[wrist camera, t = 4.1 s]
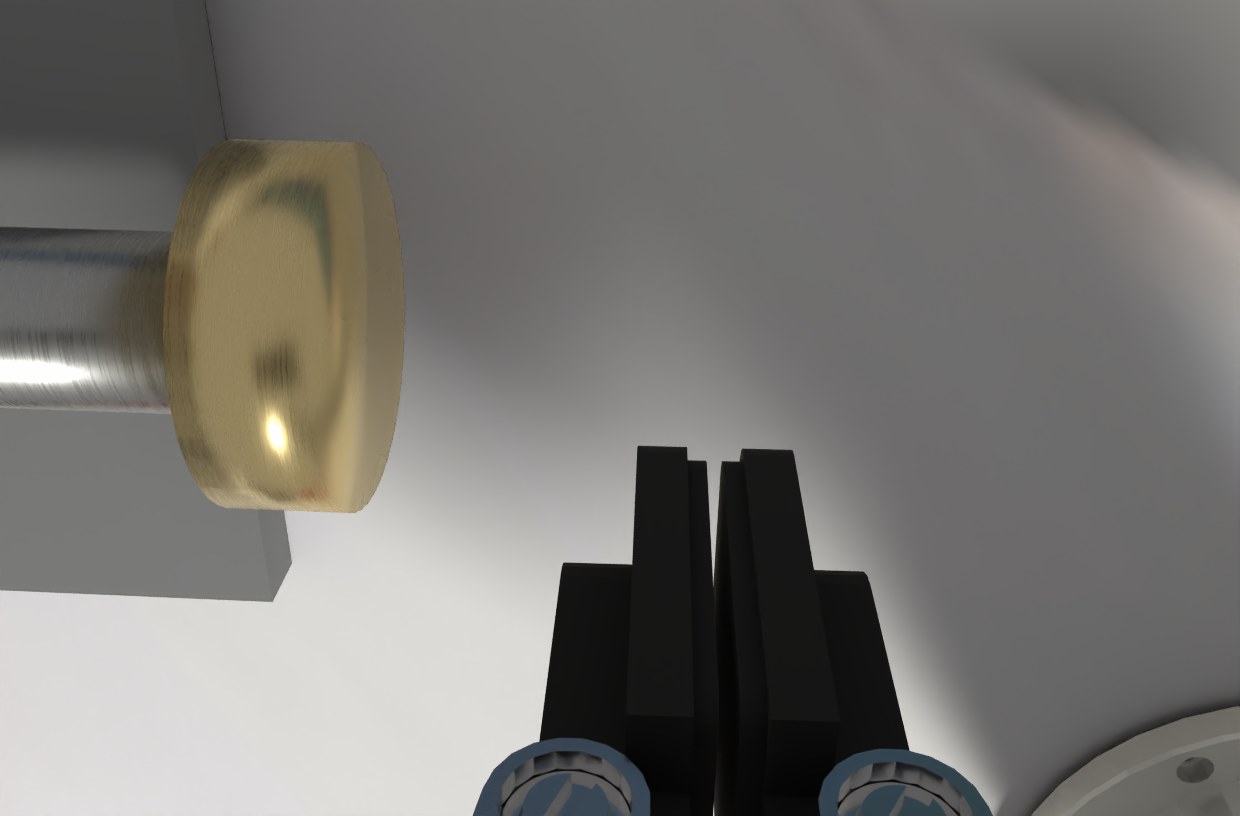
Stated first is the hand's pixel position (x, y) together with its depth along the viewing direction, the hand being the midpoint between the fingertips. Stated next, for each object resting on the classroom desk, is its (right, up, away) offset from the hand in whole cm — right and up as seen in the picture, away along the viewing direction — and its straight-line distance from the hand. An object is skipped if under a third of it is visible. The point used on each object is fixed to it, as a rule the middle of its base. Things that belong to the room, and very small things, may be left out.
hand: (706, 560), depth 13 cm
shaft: (-14, +5, +9) cm, 17 cm away
